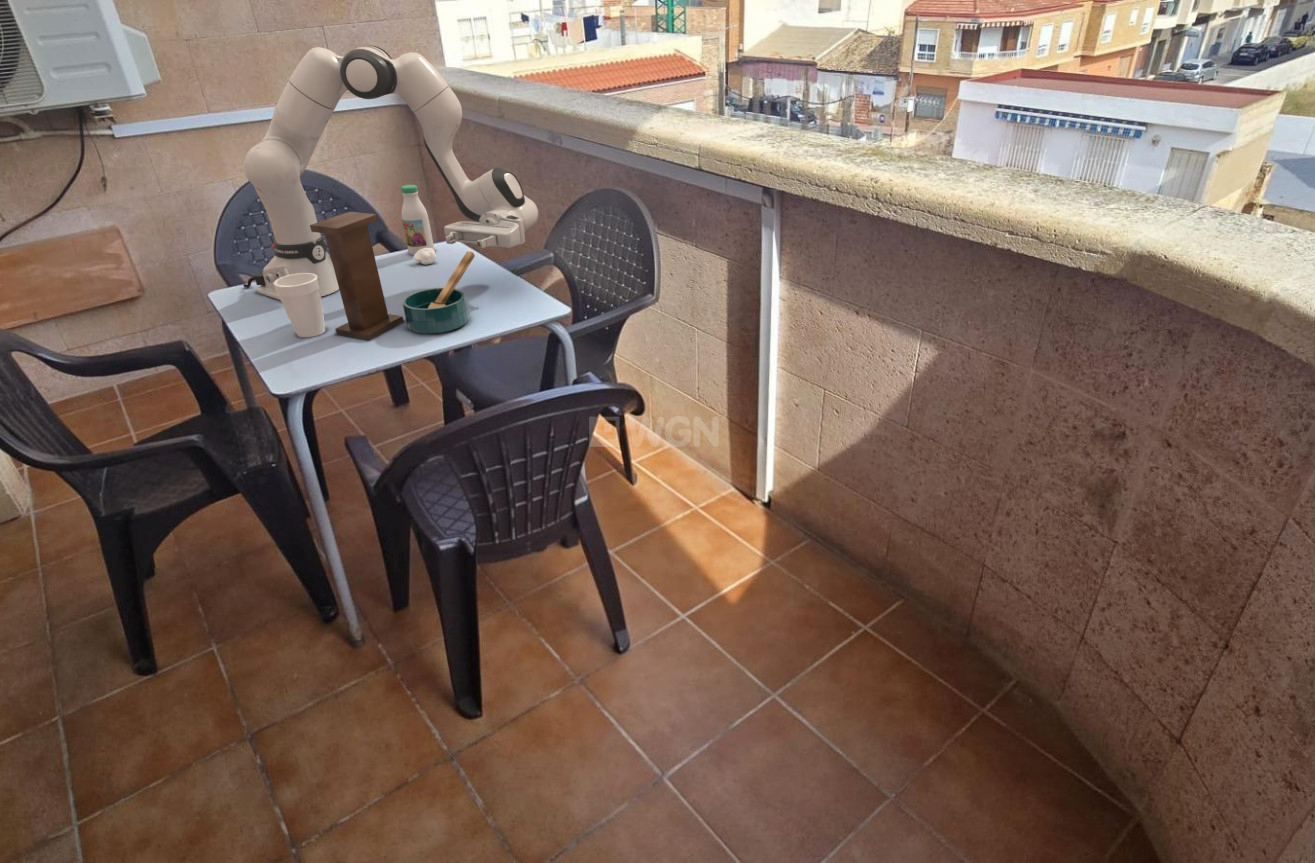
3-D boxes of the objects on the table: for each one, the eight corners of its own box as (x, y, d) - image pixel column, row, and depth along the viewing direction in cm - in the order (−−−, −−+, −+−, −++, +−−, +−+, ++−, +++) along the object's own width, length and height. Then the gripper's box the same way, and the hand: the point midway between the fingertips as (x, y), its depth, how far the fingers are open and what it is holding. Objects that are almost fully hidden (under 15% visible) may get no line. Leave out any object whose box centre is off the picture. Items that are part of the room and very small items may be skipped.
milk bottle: (420, 247, 231) (407, 182, 221) (439, 250, 228) (427, 184, 218) (403, 254, 225) (389, 187, 215) (423, 257, 222) (409, 189, 212)
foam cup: (316, 341, 169) (301, 287, 163) (281, 338, 171) (264, 285, 164) (339, 325, 177) (325, 273, 171) (306, 323, 179) (290, 272, 172)
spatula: (465, 254, 184) (462, 250, 183) (479, 256, 182) (476, 252, 181) (419, 327, 173) (416, 323, 172) (433, 329, 172) (430, 325, 171)
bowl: (395, 330, 173) (389, 304, 170) (433, 309, 185) (429, 284, 181) (444, 339, 168) (438, 312, 165) (480, 316, 180) (476, 291, 176)
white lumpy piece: (439, 260, 220) (438, 248, 217) (433, 269, 216) (432, 257, 213) (417, 256, 220) (415, 244, 217) (410, 264, 216) (409, 253, 213)
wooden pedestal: (336, 334, 172) (306, 224, 159) (372, 316, 182) (346, 211, 168) (369, 340, 169) (340, 228, 155) (403, 321, 178) (380, 214, 165)
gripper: (461, 212, 192) (427, 226, 181) (527, 218, 185) (496, 233, 174) (465, 236, 195) (432, 251, 185) (530, 243, 188) (499, 259, 177)
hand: (463, 242), depth 179 cm, fingers open, 8 cm apart
